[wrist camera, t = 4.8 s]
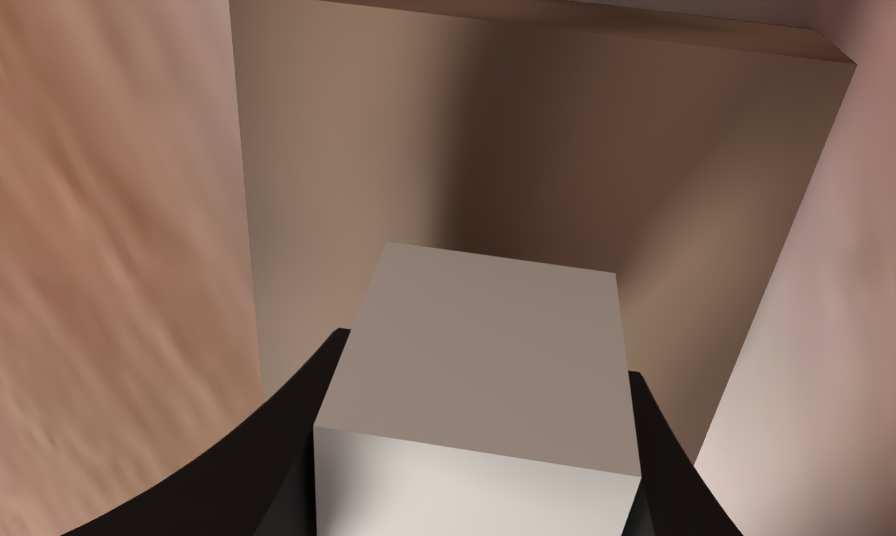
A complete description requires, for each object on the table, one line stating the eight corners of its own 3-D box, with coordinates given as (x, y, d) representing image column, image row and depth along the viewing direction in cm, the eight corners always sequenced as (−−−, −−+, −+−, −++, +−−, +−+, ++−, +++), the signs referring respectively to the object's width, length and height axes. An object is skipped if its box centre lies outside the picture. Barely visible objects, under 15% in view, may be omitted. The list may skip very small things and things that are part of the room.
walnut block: (815, 29, 15) (856, 64, 13) (671, 425, 22) (683, 490, 20) (271, -34, 16) (228, -11, 14) (292, 367, 22) (265, 424, 20)
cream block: (615, 273, 14) (641, 477, 9) (573, 435, 16) (579, 654, 12) (386, 241, 14) (313, 426, 10) (379, 406, 16) (319, 609, 12)
